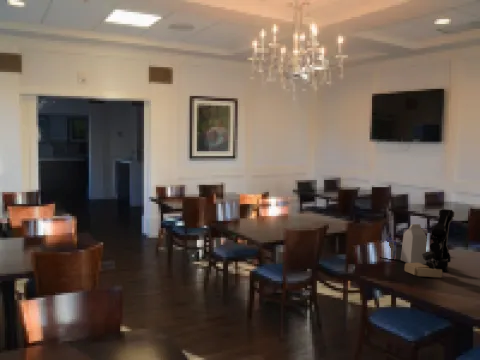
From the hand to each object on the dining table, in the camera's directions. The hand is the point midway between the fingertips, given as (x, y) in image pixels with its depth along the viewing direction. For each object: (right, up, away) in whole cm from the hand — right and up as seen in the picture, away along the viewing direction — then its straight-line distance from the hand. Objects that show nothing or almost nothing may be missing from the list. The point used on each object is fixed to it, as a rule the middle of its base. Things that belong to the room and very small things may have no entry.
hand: (435, 273), depth 280 cm
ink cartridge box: (-16, +2, +41) cm, 45 cm away
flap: (-5, -2, -2) cm, 5 cm away
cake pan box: (+10, +3, +62) cm, 63 cm away
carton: (-9, -1, +6) cm, 11 cm away
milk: (-1, +1, +34) cm, 34 cm away
